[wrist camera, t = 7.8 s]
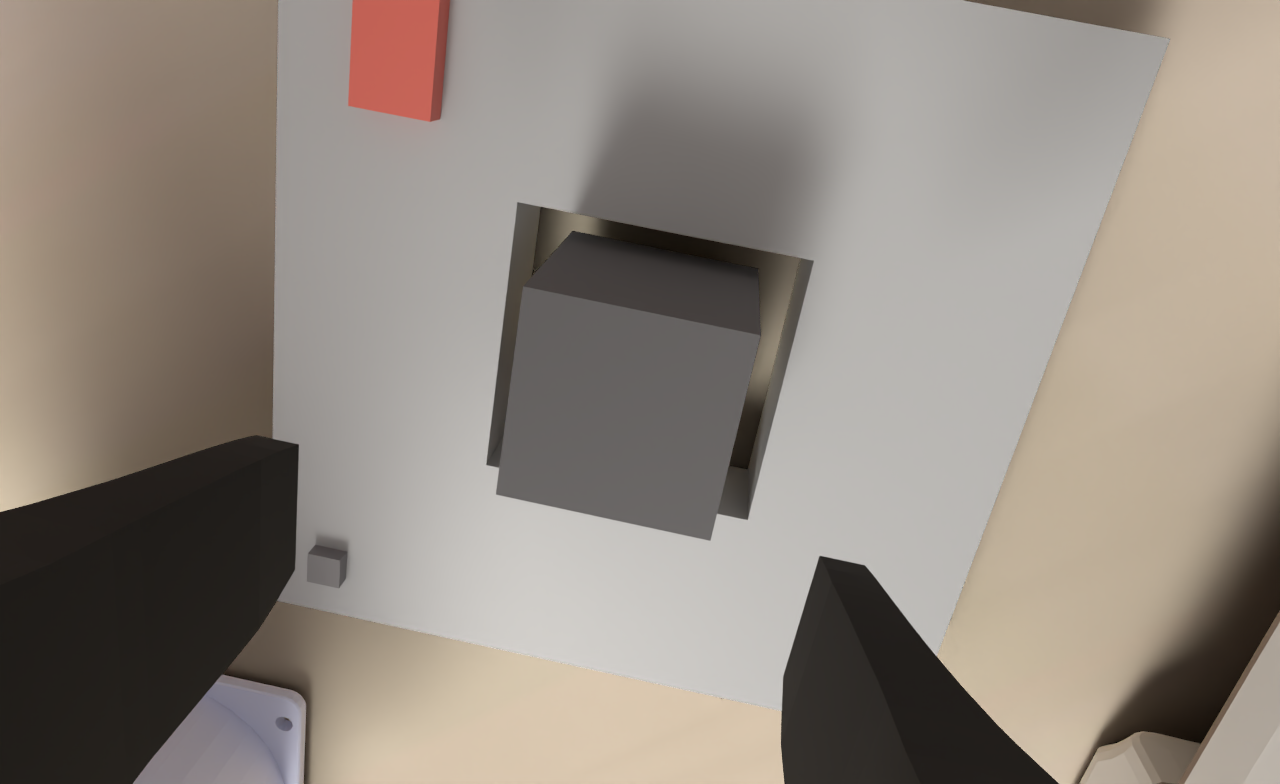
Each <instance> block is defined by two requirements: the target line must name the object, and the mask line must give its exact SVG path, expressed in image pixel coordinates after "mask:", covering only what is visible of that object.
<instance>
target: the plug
mask: <svg viewBox="0 0 1280 784" xmlns="http://www.w3.org/2000/svg"><path fill="white" fill-rule="evenodd" d="M760 337H761V328H760V303H759V278H758V269H757V268H752V267H747V266H742V265H738V264H733V263H728V262H723V261H718V260H713V259H708V258H703V257H698V256H693V255H688V254H684V253H679V252H674V251H669V250H664V249H659V248H654V247H649V246H644V245H639V244H634V243H630V242H625V241H620V240H615V239H610V238H605V237H600V236H595V235H590V234H585V233H580V232H576V231H572V232H571V233H570V235H569V236H568V237H567V238H566V239H565V240H564V241H563V242H562V243H561V245H560V246H559V247H558V248H557V249H556V250H555V251H554V252H553V254H552V255H551V256H550V257H549V258H548V259H547V260H546V261H545V262H544V264H543V265H542V266H541V267H540V268H539V269H538V270H537V271H536V272H535V274H534V275H533V276H532V277H531V278H530V279H529V280H528V281H527V282H526V284H525V285H524V286H523V290H522V298H521V306H520V313H519V321H518V329H517V336H516V344H515V351H514V359H513V367H512V374H511V382H510V390H509V397H508V405H507V413H506V420H505V428H504V435H503V443H502V451H501V458H500V466H499V474H498V481H497V489H496V495H500V496H505V497H509V498H514V499H518V500H523V501H528V502H532V503H537V504H542V505H546V506H551V507H556V508H560V509H565V510H569V511H574V512H579V513H583V514H588V515H593V516H597V517H602V518H607V519H611V520H616V521H620V522H625V523H630V524H634V525H639V526H644V527H648V528H653V529H658V530H662V531H667V532H671V533H676V534H681V535H685V536H690V537H695V538H699V539H704V540H708V541H711V537H712V532H713V528H714V524H715V520H716V516H717V512H718V508H719V504H720V500H721V496H722V492H723V488H724V483H725V479H726V475H727V471H728V467H729V463H730V459H731V455H732V451H733V447H734V443H735V439H736V435H737V430H738V426H739V422H740V418H741V414H742V410H743V406H744V402H745V398H746V394H747V390H748V386H749V381H750V377H751V373H752V369H753V365H754V361H755V357H756V353H757V349H758V345H759V341H760Z"/></svg>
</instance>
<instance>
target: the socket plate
mask: <svg viewBox="0 0 1280 784" xmlns="http://www.w3.org/2000/svg"><path fill="white" fill-rule="evenodd" d="M1169 41H1170V39H1169V38H1163V37H1158V36H1153V35H1147V34H1142V33H1136V32H1131V31H1126V30H1120V29H1115V28H1109V27H1104V26H1099V25H1093V24H1088V23H1082V22H1077V21H1072V20H1066V19H1061V18H1055V17H1050V16H1045V15H1039V14H1034V13H1029V12H1023V11H1018V10H1012V9H1007V8H1002V7H996V6H991V5H985V4H980V3H975V2H969V1H964V0H278V53H277V131H276V208H275V286H274V363H273V439H276V440H281V441H285V442H290V443H295V444H299V461H298V494H297V527H296V560H295V571H294V573H293V574H292V576H291V578H290V579H289V581H288V583H287V584H286V586H285V588H284V589H283V591H282V593H281V595H280V596H279V598H278V600H277V601H280V602H284V603H289V604H293V605H298V606H302V607H307V608H312V609H316V610H321V611H325V612H330V613H335V614H339V615H344V616H348V617H353V618H357V619H362V620H367V621H371V622H376V623H380V624H385V625H389V626H394V627H399V628H403V629H408V630H412V631H417V632H421V633H426V634H431V635H435V636H440V637H444V638H449V639H454V640H458V641H463V642H467V643H472V644H476V645H481V646H486V647H490V648H495V649H499V650H504V651H508V652H513V653H518V654H522V655H527V656H531V657H536V658H540V659H545V660H550V661H554V662H559V663H563V664H568V665H573V666H577V667H582V668H586V669H591V670H595V671H600V672H605V673H609V674H614V675H618V676H623V677H627V678H632V679H637V680H641V681H646V682H650V683H655V684H659V685H664V686H669V687H673V688H678V689H682V690H687V691H692V692H696V693H701V694H705V695H710V696H714V697H719V698H724V699H728V700H733V701H737V702H742V703H746V704H751V705H756V706H760V707H765V708H769V709H774V710H778V711H782V693H783V675H784V672H785V669H786V665H787V662H788V659H789V655H790V652H791V649H792V645H793V642H794V639H795V635H796V632H797V629H798V625H799V622H800V619H801V616H802V612H803V609H804V606H805V602H806V599H807V596H808V592H809V589H810V586H811V582H812V579H813V576H814V572H815V569H816V566H817V562H818V559H819V556H824V557H829V558H833V559H838V560H843V561H847V562H852V563H857V564H861V565H865V566H866V567H867V568H868V569H869V571H870V572H871V573H872V574H873V576H874V577H875V578H876V579H877V581H878V582H879V583H880V585H881V586H882V587H883V588H884V590H885V591H886V592H887V594H888V595H889V596H890V598H891V599H892V600H893V602H894V603H895V604H896V606H897V607H898V608H899V609H900V611H901V612H902V613H903V615H904V616H905V617H906V619H907V620H908V621H909V623H910V624H911V625H912V626H913V628H914V629H915V630H916V631H917V633H918V634H919V635H920V637H921V638H922V639H923V640H924V642H925V643H926V644H927V645H928V647H929V648H930V649H931V650H932V652H933V653H934V654H935V655H936V656H937V654H938V651H939V649H940V646H941V643H942V641H943V638H944V636H945V633H946V630H947V628H948V625H949V622H950V620H951V617H952V614H953V612H954V609H955V606H956V604H957V601H958V599H959V596H960V593H961V591H962V588H963V585H964V583H965V580H966V577H967V575H968V572H969V569H970V567H971V564H972V562H973V559H974V556H975V554H976V551H977V548H978V546H979V543H980V540H981V538H982V535H983V533H984V530H985V527H986V525H987V522H988V519H989V517H990V514H991V511H992V509H993V506H994V503H995V501H996V498H997V496H998V493H999V490H1000V488H1001V485H1002V482H1003V480H1004V477H1005V474H1006V472H1007V469H1008V466H1009V464H1010V461H1011V459H1012V456H1013V453H1014V451H1015V448H1016V445H1017V443H1018V440H1019V437H1020V435H1021V432H1022V430H1023V427H1024V424H1025V422H1026V419H1027V416H1028V414H1029V411H1030V408H1031V406H1032V403H1033V400H1034V398H1035V395H1036V393H1037V390H1038V387H1039V385H1040V382H1041V379H1042V377H1043V374H1044V371H1045V369H1046V366H1047V363H1048V361H1049V358H1050V356H1051V353H1052V350H1053V348H1054V345H1055V342H1056V340H1057V337H1058V334H1059V332H1060V329H1061V327H1062V324H1063V321H1064V319H1065V316H1066V313H1067V311H1068V308H1069V305H1070V303H1071V300H1072V297H1073V295H1074V292H1075V290H1076V287H1077V284H1078V282H1079V279H1080V276H1081V274H1082V271H1083V268H1084V266H1085V263H1086V260H1087V258H1088V255H1089V253H1090V250H1091V247H1092V245H1093V242H1094V239H1095V237H1096V234H1097V231H1098V229H1099V226H1100V224H1101V221H1102V218H1103V216H1104V213H1105V210H1106V208H1107V205H1108V202H1109V200H1110V197H1111V194H1112V192H1113V189H1114V187H1115V184H1116V181H1117V179H1118V176H1119V173H1120V171H1121V168H1122V165H1123V163H1124V160H1125V157H1126V155H1127V152H1128V150H1129V147H1130V144H1131V142H1132V139H1133V136H1134V134H1135V131H1136V128H1137V126H1138V123H1139V120H1140V118H1141V115H1142V113H1143V110H1144V107H1145V105H1146V102H1147V99H1148V97H1149V94H1150V91H1151V89H1152V86H1153V84H1154V81H1155V78H1156V76H1157V73H1158V70H1159V68H1160V65H1161V62H1162V60H1163V57H1164V54H1165V52H1166V49H1167V47H1168V44H1169ZM541 207H545V208H550V209H555V210H560V211H565V212H570V213H575V214H580V215H585V216H590V217H595V218H600V219H605V220H611V221H616V222H621V223H626V224H631V225H636V226H641V227H646V228H651V229H656V230H661V231H666V232H671V233H676V234H681V235H686V236H691V237H696V238H701V239H706V240H711V241H717V242H722V243H727V244H732V245H737V246H742V247H747V248H752V249H757V250H762V251H767V252H772V253H777V254H782V255H787V256H792V257H797V258H800V262H799V266H798V270H797V274H796V278H795V282H794V286H793V290H792V294H791V298H790V302H789V306H788V311H787V315H786V319H785V323H784V327H783V331H782V335H781V339H780V343H779V347H778V351H777V355H776V359H775V363H774V367H773V371H772V375H771V379H770V383H769V387H768V391H767V395H766V399H765V403H764V407H763V411H762V415H761V419H760V423H759V427H758V431H757V435H756V439H755V443H754V447H753V451H752V455H751V459H750V463H749V467H748V469H743V468H738V467H733V466H729V467H728V471H727V475H726V479H725V483H724V488H723V492H722V496H721V500H720V504H719V508H718V512H717V516H716V520H715V524H714V528H713V532H712V537H711V541H708V540H704V539H699V538H695V537H690V536H685V535H681V534H676V533H671V532H667V531H662V530H658V529H653V528H648V527H644V526H639V525H634V524H630V523H625V522H620V521H616V520H611V519H607V518H602V517H597V516H593V515H588V514H583V513H579V512H574V511H569V510H565V509H560V508H556V507H551V506H546V505H542V504H537V503H532V502H528V501H523V500H518V499H514V498H509V497H505V496H500V495H496V489H497V481H498V474H499V466H500V458H501V451H502V443H503V435H504V428H505V420H506V413H507V405H508V397H509V390H510V382H511V374H512V367H513V359H514V351H515V344H516V336H517V329H518V321H519V313H520V306H521V298H522V290H523V286H524V285H525V284H526V282H527V281H528V280H529V279H530V278H531V277H532V272H533V264H534V257H535V249H536V241H537V234H538V226H539V218H540V210H541Z"/></svg>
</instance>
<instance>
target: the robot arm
mask: <svg viewBox="0 0 1280 784" xmlns="http://www.w3.org/2000/svg"><path fill="white" fill-rule="evenodd" d="M298 461H299V444H295V443H290V442H285V441H281V440H276V439H271V438H266V437H262V436H257V435H255V436H251V437H246V438H242V439H238V440H234V441H231V442H228V443H224V444H221V445H218V446H214V447H211V448H208V449H205V450H202V451H199V452H196V453H193V454H190V455H187V456H184V457H181V458H178V459H175V460H172V461H169V462H166V463H163V464H160V465H157V466H154V467H151V468H148V469H145V470H142V471H139V472H136V473H133V474H130V475H127V476H124V477H121V478H118V479H114V480H111V481H108V482H105V483H101V484H98V485H94V486H91V487H88V488H84V489H81V490H77V491H74V492H71V493H67V494H64V495H61V496H57V497H54V498H50V499H47V500H44V501H40V502H37V503H33V504H30V505H26V506H22V507H18V508H15V509H11V510H7V511H3V512H0V784H304V755H305V726H306V703H305V700H304V699H303V697H302V696H301V695H300V694H299V693H297V692H295V691H293V690H289V689H285V688H280V687H276V686H271V685H267V684H262V683H258V682H253V681H249V680H244V679H240V678H235V677H231V676H226V675H222V674H223V673H224V671H225V670H226V669H227V668H228V667H229V665H230V664H231V663H232V662H233V660H234V659H235V658H236V657H237V656H238V654H239V653H240V652H241V651H242V649H243V648H244V647H245V646H246V645H247V643H248V642H249V641H250V640H251V638H252V637H253V636H254V634H255V633H256V632H257V631H258V629H259V628H260V626H261V625H262V623H263V622H264V620H265V619H266V617H267V616H268V614H269V612H270V611H271V609H272V608H273V606H274V605H275V603H276V601H277V600H278V598H279V596H280V595H281V593H282V591H283V589H284V588H285V586H286V584H287V583H288V581H289V579H290V578H291V576H292V574H293V573H294V571H295V560H296V527H297V494H298ZM284 717H285V718H287V719H289V720H290V721H288V720H286V719H285V718H284ZM781 750H782V761H783V772H784V782H785V784H1059V783H1058V782H1056V781H1055V780H1054V779H1053V778H1052V777H1051V776H1050V775H1049V774H1048V773H1047V772H1046V771H1045V770H1044V769H1043V768H1041V767H1040V766H1039V765H1038V764H1037V763H1036V762H1035V761H1034V760H1033V759H1032V758H1031V757H1030V756H1029V755H1028V754H1027V753H1025V752H1024V751H1023V750H1022V749H1021V748H1020V747H1019V746H1018V745H1017V744H1016V743H1015V742H1014V741H1013V740H1012V739H1011V738H1010V737H1009V736H1008V735H1007V734H1006V733H1005V732H1004V731H1003V730H1002V729H1001V728H1000V727H999V726H998V725H997V724H996V723H995V722H994V721H993V720H992V719H991V718H990V717H989V715H988V714H987V713H986V712H985V711H984V710H983V709H982V708H981V707H980V706H979V705H978V703H977V702H976V701H975V700H974V699H973V698H972V697H971V696H970V695H969V694H968V693H967V691H966V690H965V689H964V688H963V687H962V686H961V685H960V684H959V682H958V681H957V680H956V679H955V678H954V677H953V675H952V674H951V673H950V672H949V671H948V670H947V668H946V667H945V666H944V665H943V664H942V662H941V661H940V660H939V659H938V658H937V656H936V655H935V654H934V653H933V652H932V650H931V649H930V648H929V647H928V645H927V644H926V643H925V642H924V640H923V639H922V638H921V637H920V635H919V634H918V633H917V631H916V630H915V629H914V628H913V626H912V625H911V624H910V623H909V621H908V620H907V619H906V617H905V616H904V615H903V613H902V612H901V611H900V609H899V608H898V607H897V606H896V604H895V603H894V602H893V600H892V599H891V598H890V596H889V595H888V594H887V592H886V591H885V590H884V588H883V587H882V586H881V585H880V583H879V582H878V581H877V579H876V578H875V577H874V576H873V574H872V573H871V572H870V571H869V569H868V568H867V567H866V566H865V565H861V564H857V563H852V562H847V561H843V560H838V559H833V558H829V557H824V556H819V559H818V562H817V566H816V569H815V572H814V576H813V579H812V582H811V586H810V589H809V592H808V596H807V599H806V602H805V606H804V609H803V612H802V616H801V619H800V622H799V625H798V629H797V632H796V635H795V639H794V642H793V645H792V649H791V652H790V655H789V659H788V662H787V665H786V669H785V672H784V675H783V693H782V723H781Z"/></svg>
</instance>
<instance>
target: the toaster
mask: <svg viewBox="0 0 1280 784" xmlns="http://www.w3.org/2000/svg"><path fill="white" fill-rule="evenodd" d="M1079 784H1280V611H1279V613H1278V614H1277V616H1276V618H1275V619H1274V621H1273V623H1272V624H1271V626H1270V628H1269V629H1268V631H1267V633H1266V634H1265V636H1264V638H1263V640H1262V641H1261V643H1260V645H1259V646H1258V648H1257V650H1256V651H1255V653H1254V655H1253V657H1252V658H1251V660H1250V662H1249V663H1248V665H1247V667H1246V668H1245V670H1244V672H1243V674H1242V675H1241V677H1240V679H1239V680H1238V682H1237V684H1236V685H1235V687H1234V689H1233V691H1232V692H1231V694H1230V696H1229V697H1228V699H1227V701H1226V702H1225V704H1224V706H1223V708H1222V709H1221V711H1220V713H1219V714H1218V716H1217V718H1216V719H1215V721H1214V723H1213V725H1212V726H1211V728H1210V730H1209V731H1208V733H1207V735H1206V736H1205V738H1204V740H1203V742H1202V743H1201V744H1200V743H1196V742H1192V741H1187V740H1183V739H1179V738H1175V737H1171V736H1167V735H1163V734H1158V733H1153V732H1144V731H1142V732H1137V733H1134V734H1133V735H1131V736H1129V737H1128V738H1126V739H1125V740H1122V741H1120V742H1118V743H1115V744H1108V745H1104V746H1101V747H1098V749H1097V751H1096V753H1095V755H1094V757H1093V759H1092V761H1091V762H1090V764H1089V766H1088V768H1087V770H1086V772H1085V774H1084V776H1083V777H1082V779H1081V781H1080V783H1079Z"/></svg>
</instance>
